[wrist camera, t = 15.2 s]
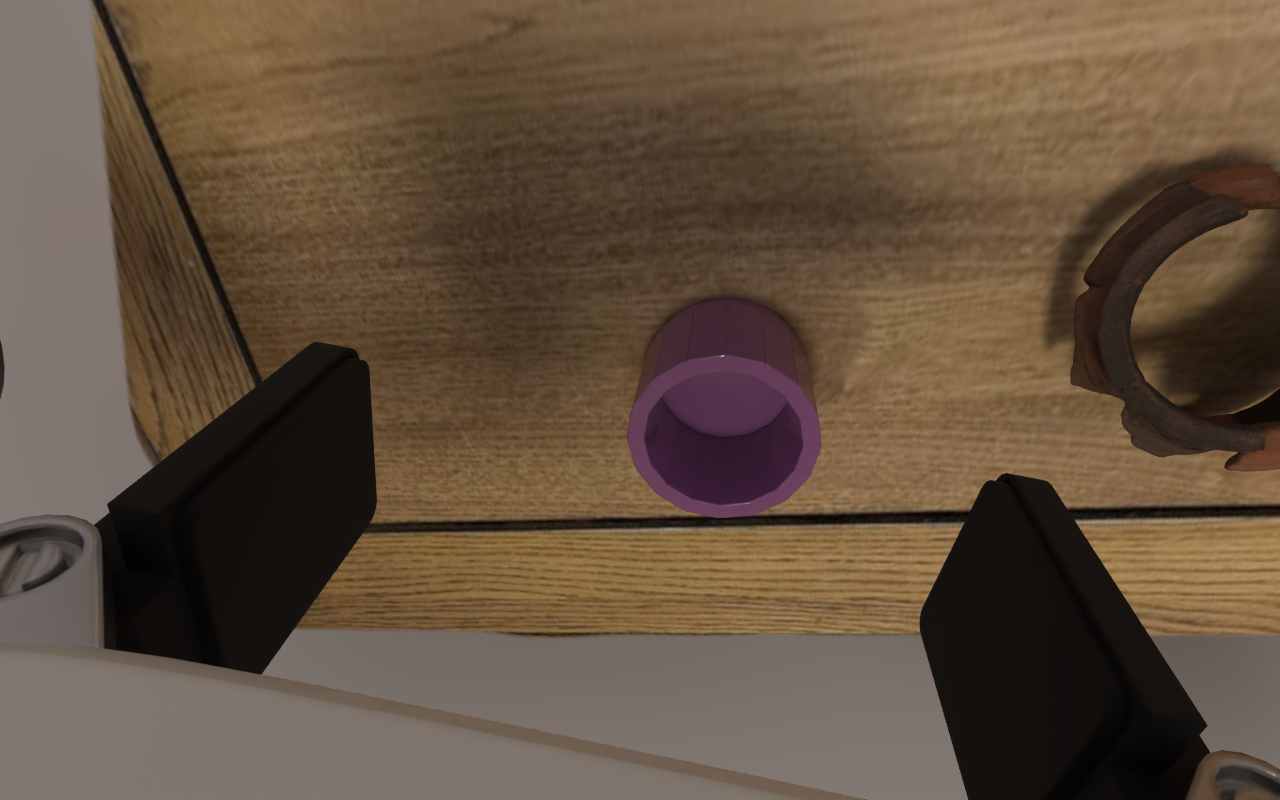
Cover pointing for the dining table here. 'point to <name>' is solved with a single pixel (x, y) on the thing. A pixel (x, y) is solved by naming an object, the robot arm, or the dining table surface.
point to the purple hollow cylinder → (725, 411)
